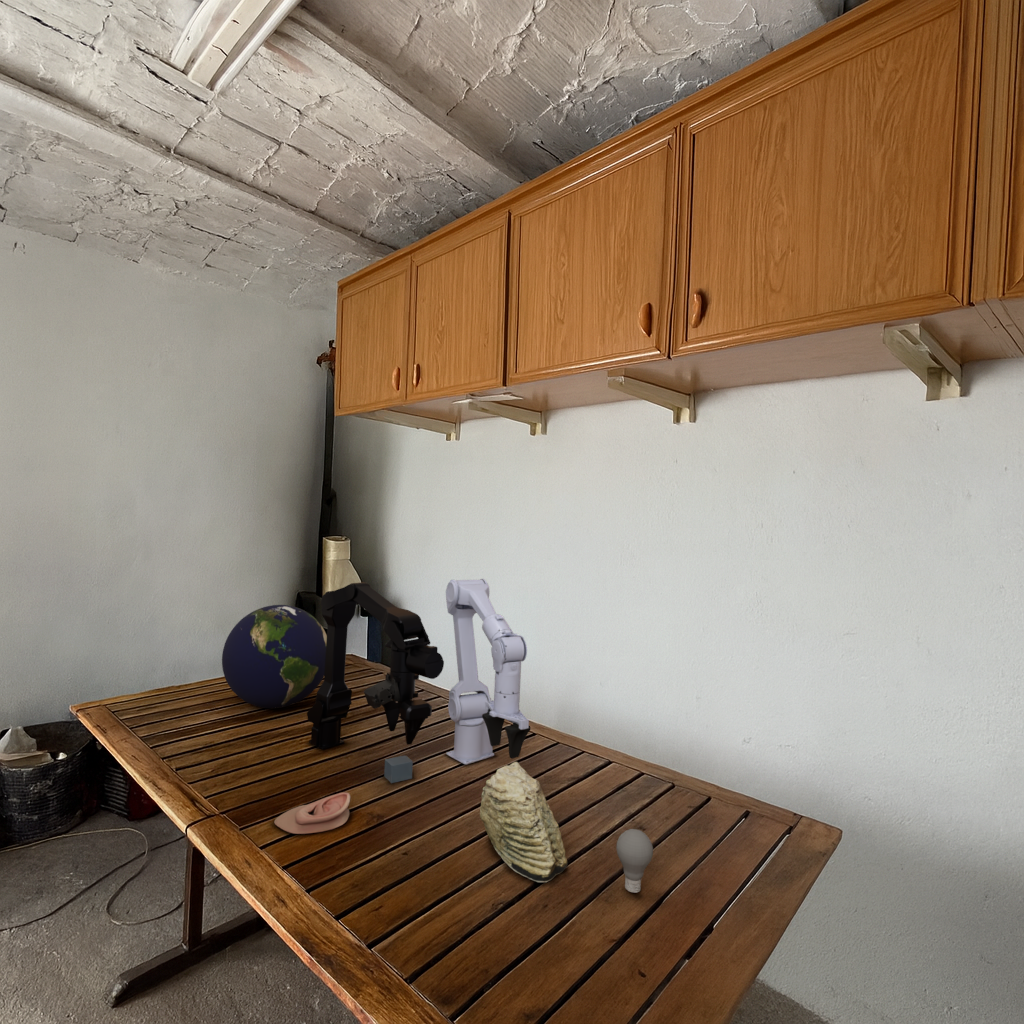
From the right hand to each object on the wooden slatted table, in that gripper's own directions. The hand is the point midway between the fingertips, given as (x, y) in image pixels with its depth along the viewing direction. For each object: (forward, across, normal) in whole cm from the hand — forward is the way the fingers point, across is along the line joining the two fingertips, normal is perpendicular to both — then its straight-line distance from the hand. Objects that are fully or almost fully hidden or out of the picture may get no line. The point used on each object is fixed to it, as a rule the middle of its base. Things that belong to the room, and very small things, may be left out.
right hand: (504, 751), depth 141 cm
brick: (+8, -16, -18) cm, 26 cm away
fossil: (+8, +24, -12) cm, 28 cm away
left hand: (-1, -16, -18) cm, 24 cm away
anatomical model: (+8, -7, -40) cm, 42 cm away
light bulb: (+8, +42, -2) cm, 43 cm away
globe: (+8, -77, -30) cm, 83 cm away
